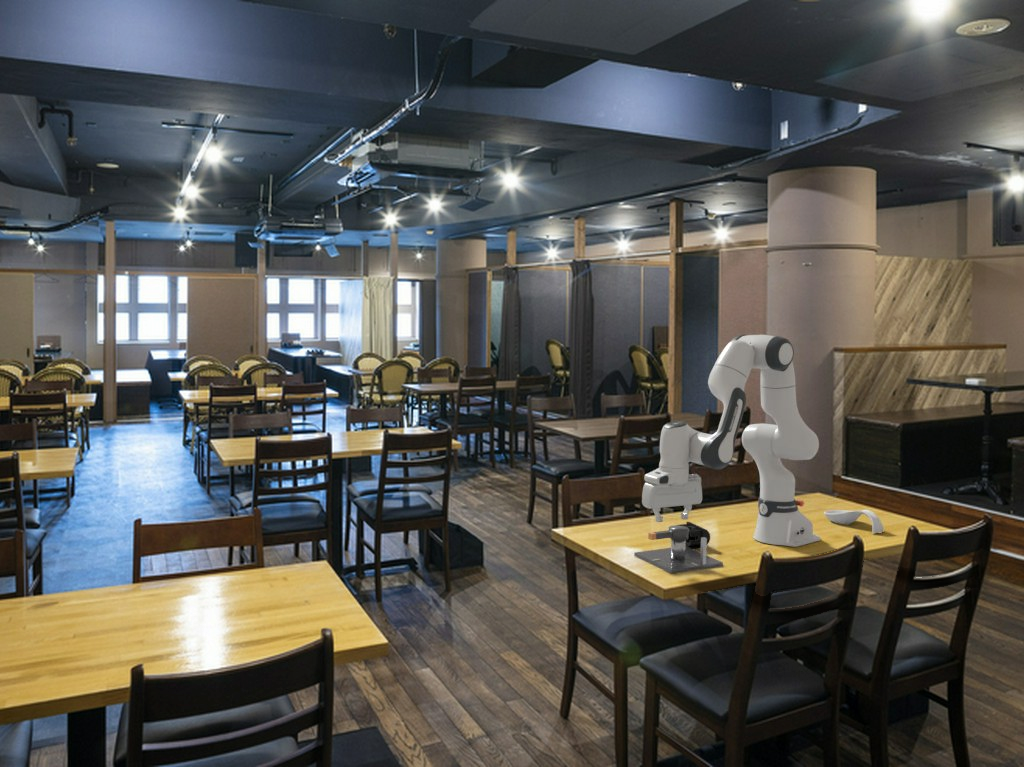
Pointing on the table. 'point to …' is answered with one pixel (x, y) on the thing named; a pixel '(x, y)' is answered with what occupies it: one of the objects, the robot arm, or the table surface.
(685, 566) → the mount base
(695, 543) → the end cap
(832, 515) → the spoon rest
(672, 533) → the collar
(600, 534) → the table surface
